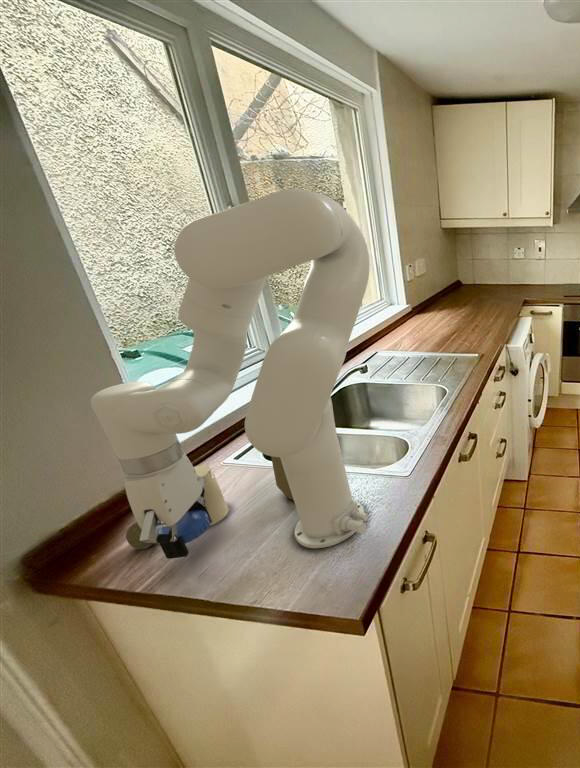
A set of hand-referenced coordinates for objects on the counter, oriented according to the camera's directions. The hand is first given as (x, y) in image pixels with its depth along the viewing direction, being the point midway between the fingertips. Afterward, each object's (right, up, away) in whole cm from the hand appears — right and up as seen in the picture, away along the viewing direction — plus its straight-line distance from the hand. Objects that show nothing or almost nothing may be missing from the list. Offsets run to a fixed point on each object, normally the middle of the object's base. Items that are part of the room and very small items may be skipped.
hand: (190, 539), depth 71 cm
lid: (0, +3, -1) cm, 3 cm away
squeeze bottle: (+12, +4, +16) cm, 20 cm away
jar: (-4, +1, +10) cm, 10 cm away
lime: (-11, -2, +3) cm, 11 cm away
